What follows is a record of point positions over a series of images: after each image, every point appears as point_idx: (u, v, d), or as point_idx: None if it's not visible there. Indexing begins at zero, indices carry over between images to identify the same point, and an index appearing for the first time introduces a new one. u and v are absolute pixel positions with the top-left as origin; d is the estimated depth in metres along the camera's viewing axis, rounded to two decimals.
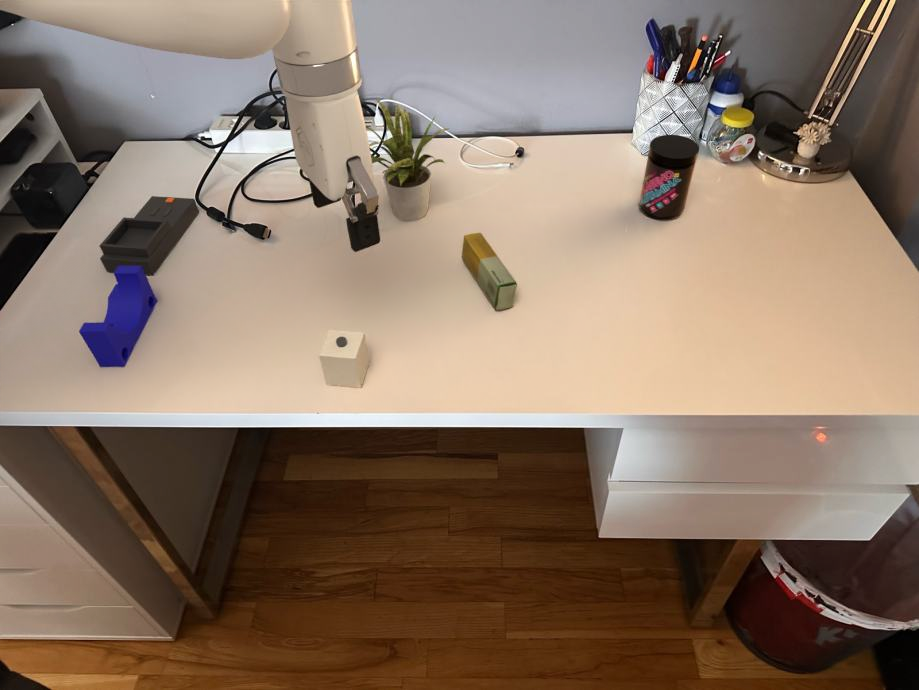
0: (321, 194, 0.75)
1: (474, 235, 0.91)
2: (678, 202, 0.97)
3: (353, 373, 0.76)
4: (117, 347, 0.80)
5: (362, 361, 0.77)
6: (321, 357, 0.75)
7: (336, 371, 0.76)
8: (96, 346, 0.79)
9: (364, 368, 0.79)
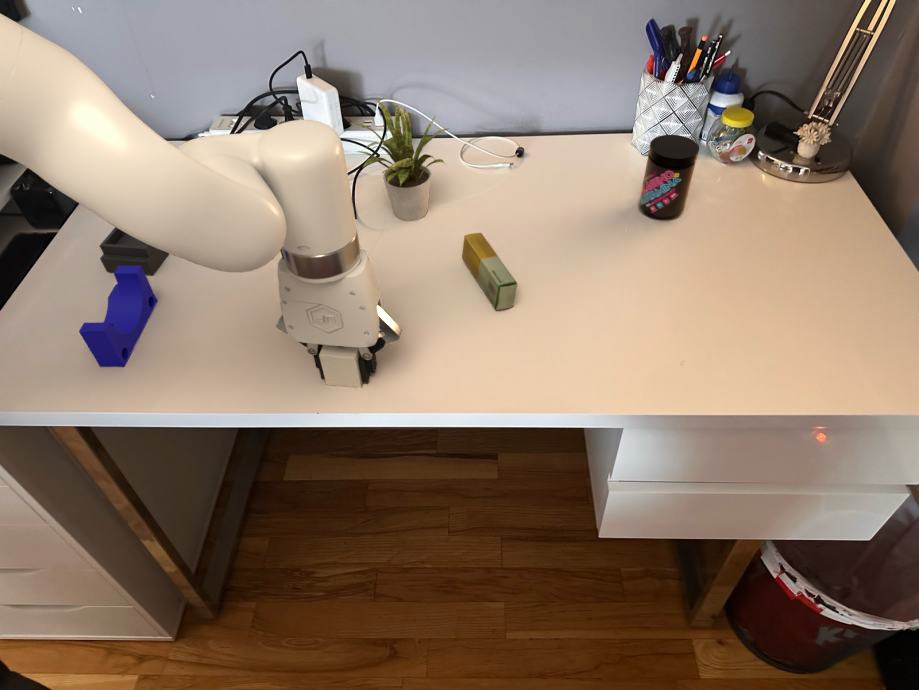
0: None
1: (474, 235, 0.91)
2: (678, 202, 0.97)
3: (353, 373, 0.76)
4: (117, 347, 0.80)
5: None
6: (321, 357, 0.75)
7: (336, 371, 0.76)
8: (96, 346, 0.79)
9: None
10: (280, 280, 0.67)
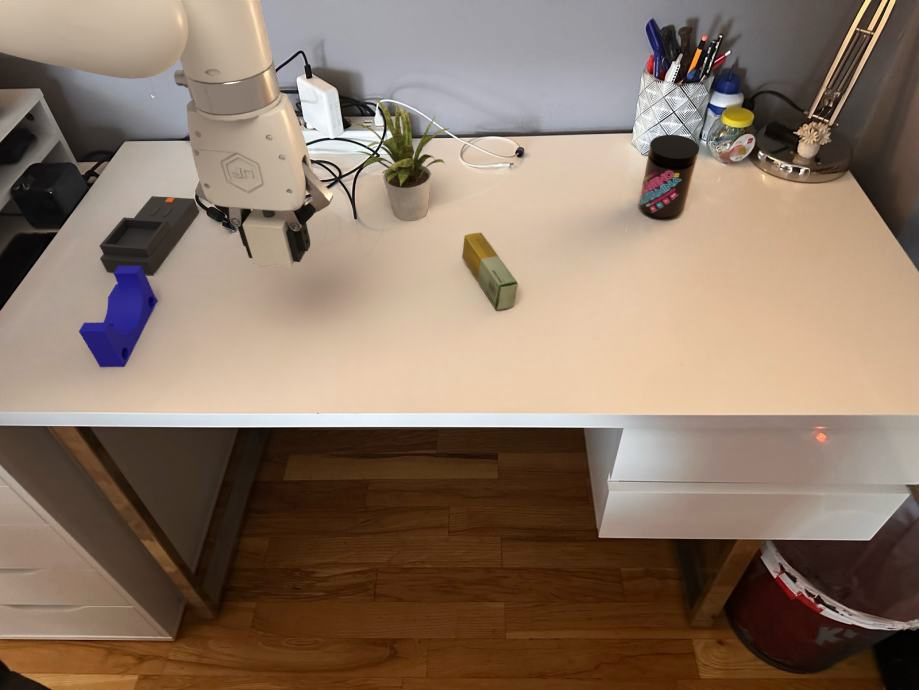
0: None
1: (474, 235, 0.91)
2: (678, 202, 0.97)
3: (281, 248, 0.69)
4: (117, 347, 0.80)
5: None
6: (245, 227, 0.68)
7: (262, 245, 0.69)
8: (96, 346, 0.79)
9: None
10: (189, 123, 0.60)
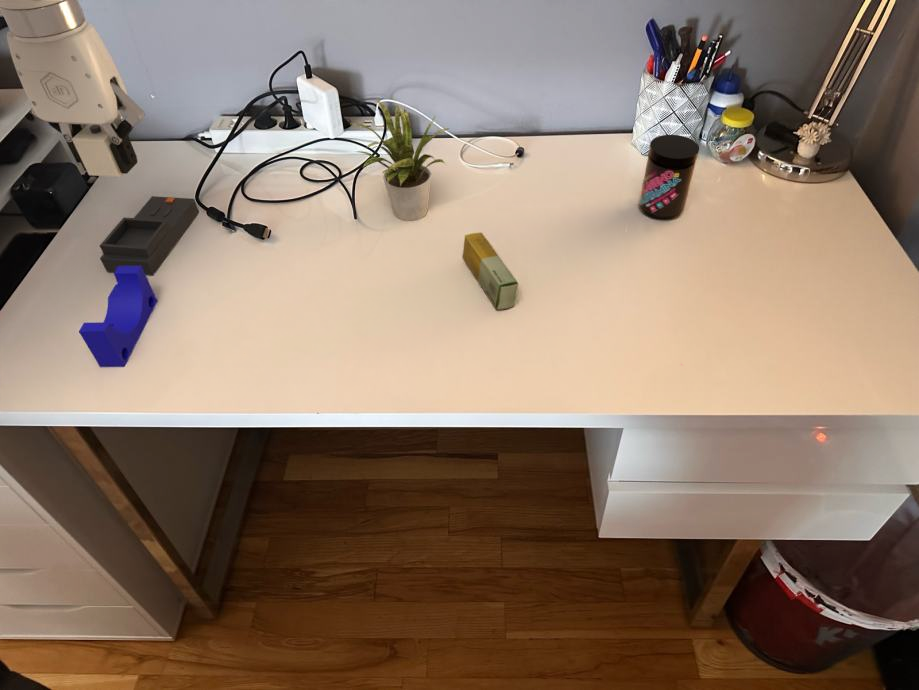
0: None
1: (475, 235, 0.91)
2: (678, 202, 0.97)
3: (107, 159, 0.82)
4: (117, 347, 0.80)
5: None
6: (74, 141, 0.81)
7: (92, 157, 0.82)
8: (96, 346, 0.79)
9: None
10: (9, 47, 0.73)
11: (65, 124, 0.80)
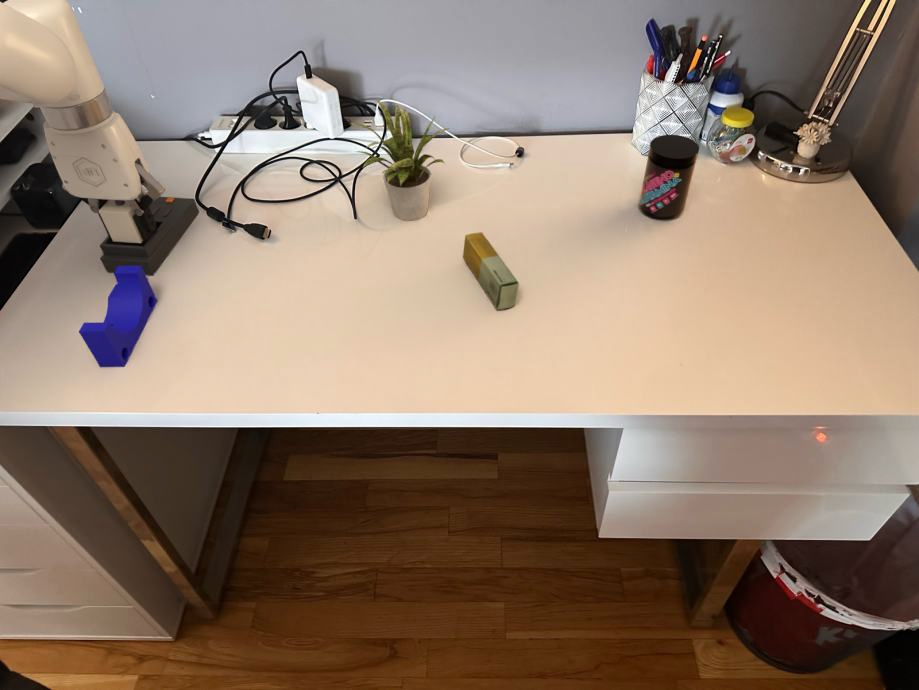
0: None
1: (475, 235, 0.91)
2: (678, 202, 0.97)
3: (130, 228, 0.91)
4: (117, 347, 0.80)
5: None
6: (101, 213, 0.90)
7: (116, 227, 0.91)
8: (96, 346, 0.79)
9: None
10: (46, 136, 0.82)
11: (93, 198, 0.89)
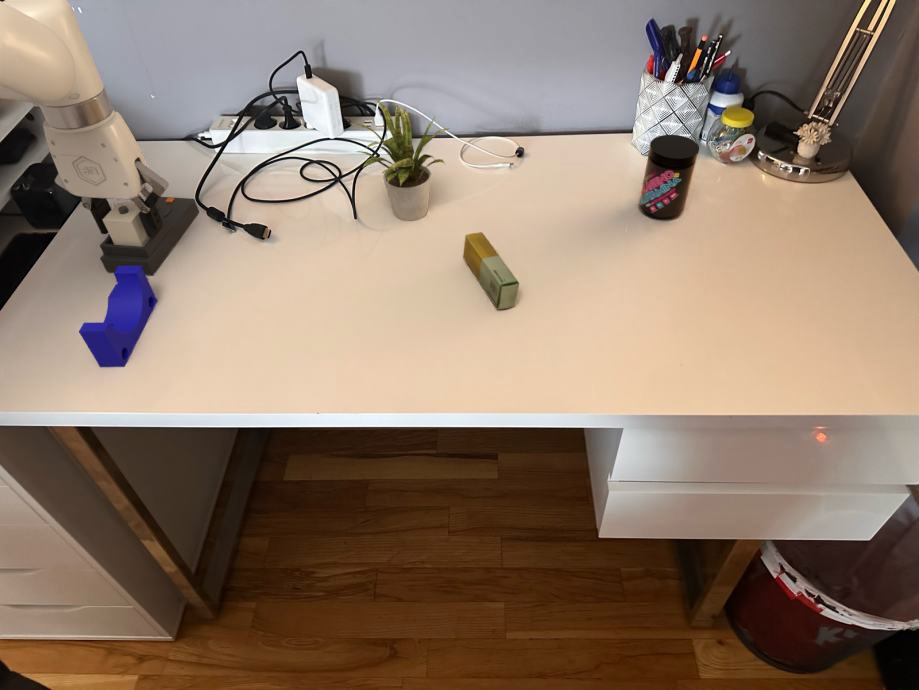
0: None
1: (475, 235, 0.91)
2: (678, 202, 0.97)
3: (134, 237, 0.92)
4: (117, 347, 0.80)
5: None
6: (104, 221, 0.91)
7: (120, 235, 0.92)
8: (96, 346, 0.79)
9: None
10: (45, 135, 0.82)
11: None
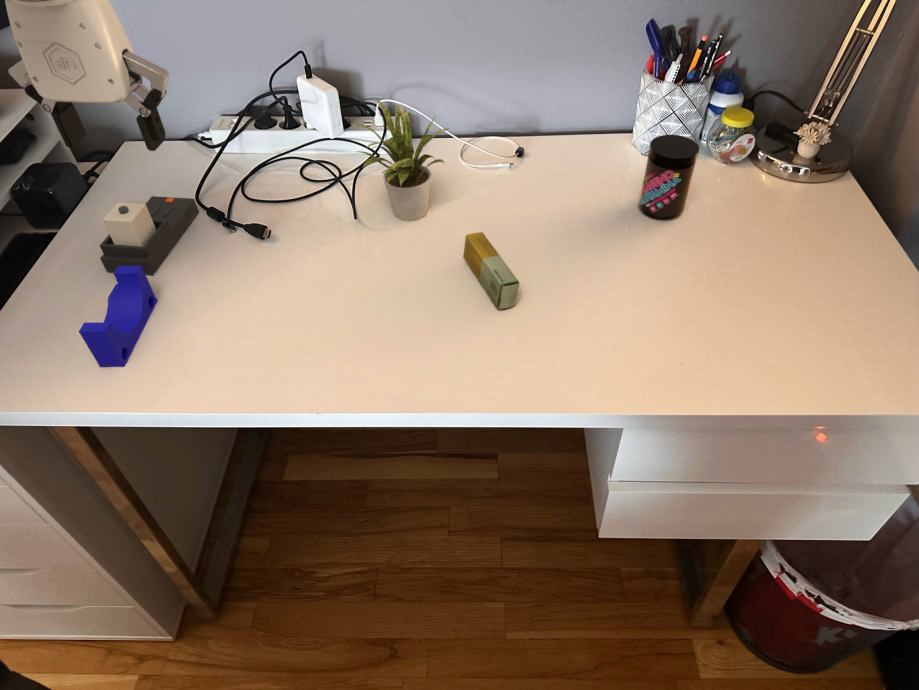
0: (70, 131, 0.75)
1: (476, 235, 0.91)
2: (678, 202, 0.97)
3: (134, 237, 0.92)
4: (117, 347, 0.80)
5: (144, 228, 0.93)
6: (104, 221, 0.91)
7: (120, 235, 0.92)
8: (96, 346, 0.79)
9: (149, 236, 0.94)
10: (8, 14, 0.65)
11: None
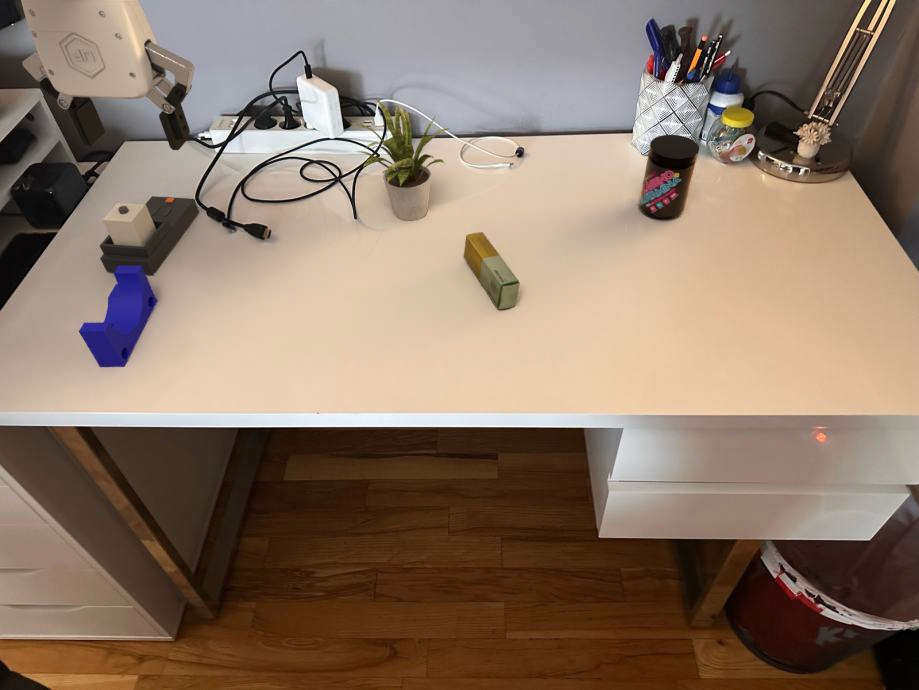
0: (88, 128, 0.70)
1: (476, 234, 0.91)
2: (678, 202, 0.97)
3: (134, 237, 0.92)
4: (117, 347, 0.80)
5: (144, 228, 0.93)
6: (104, 221, 0.91)
7: (120, 235, 0.92)
8: (96, 346, 0.79)
9: (149, 236, 0.94)
10: (22, 1, 0.59)
11: None
